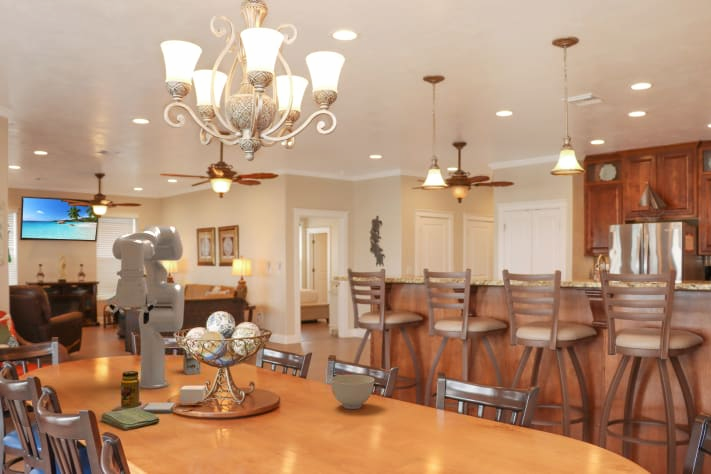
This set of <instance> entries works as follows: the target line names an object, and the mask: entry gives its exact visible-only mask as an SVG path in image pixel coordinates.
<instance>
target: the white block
mask: <svg viewBox="0 0 711 474" xmlns="http://www.w3.org/2000/svg"><path fill="white" fill-rule="evenodd" d="M205 396H206V397H207V385H183V386H182V387H181V388H180V389H179V401H180V402H179V404H180V403H197V402H199V401H202V400H203V399H204V398H205Z"/></svg>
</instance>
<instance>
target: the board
mask: <svg viewBox="0 0 711 474" xmlns="http://www.w3.org/2000/svg"><path fill="white" fill-rule="evenodd" d="M175 404H177V405H178V403H177V402H149V403H148V402H142V405H141V408H137V409H141V410H143V411H145V412H149V413H152V414H171V413H172V412H173V411H174V410H173V406H174V405H175ZM119 407H120V403H119V404H118V405H116V407H114V408H113V409H111V411H120V410H123V409H119ZM172 410H173V411H172ZM111 411H110V412H111Z"/></svg>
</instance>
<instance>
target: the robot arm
mask: <svg viewBox="0 0 711 474" xmlns="http://www.w3.org/2000/svg"><path fill="white" fill-rule="evenodd" d="M182 243H183V242H182V240H181V237H180V234H179V231H178V230H177V228H176V227H175V226H173V225H147V226H145V227H144V228H143V229H142V230H141V231H138V232H133V233H129V234H123V235H121V236H118V238H116V239H115V240H114V241H113V244H112V256H113V257H114V258H115V259H117V260H120V271H117V272H116V276H120V278H118V280H117V285H116V293H115V295H113V296H112V297H109V298H107V299H106V302H107V305H108V307H109V309H111V311H113V314H114V316H113V319H114V320H113V321H114V323H115V324H116V325H117V324H121V311H120V310H121V309H122V308H141V309H142V310H141V312H140V313H139V315H138V326H139V331H140V374H139V375H140V379H139V389H147V390H148V389H151V390H152V389H158V388H159V389H160V388H165V387H167V386H169V381H168V380H166V379H165V378H166V376H165V375H166V373H165V371H166V370H165V367H166V360H165V359H166V342H165V339H164V338H163V336H162V334H161V333H163V332H164V333H165V332H168V333H169V332H170V333H171V332H173V333H174V332H179V331H180V330H182V328H183V324H184V315H185V314H184V312H185V289H184V286H183V285H182V284H181V283H177V282H168V271H167V268H166V267H165V266H164V265H163V264H162V263H161V261H168V262H169V261H175V262H176V261H179V260H180V259H182V256H183V254H184V253H183V252H184V251H183V250H184V249H183V244H182ZM144 268H145V270H144ZM144 272H145V273H146V274H144ZM144 275H145V276H146V277H144ZM114 301H115V302H114ZM113 302H114V303H115V304H114V303H113ZM155 306H156V308H155ZM158 306H159V307H160V308H159V307H158ZM161 306H162V307H166V306H167V307H168V306H169V307H170V308H167V307H166V308H161ZM157 307H158V308H157ZM171 307H172V308H171Z"/></svg>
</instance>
